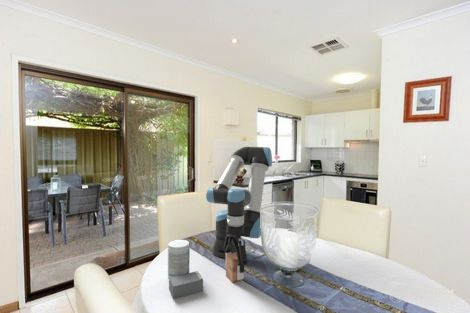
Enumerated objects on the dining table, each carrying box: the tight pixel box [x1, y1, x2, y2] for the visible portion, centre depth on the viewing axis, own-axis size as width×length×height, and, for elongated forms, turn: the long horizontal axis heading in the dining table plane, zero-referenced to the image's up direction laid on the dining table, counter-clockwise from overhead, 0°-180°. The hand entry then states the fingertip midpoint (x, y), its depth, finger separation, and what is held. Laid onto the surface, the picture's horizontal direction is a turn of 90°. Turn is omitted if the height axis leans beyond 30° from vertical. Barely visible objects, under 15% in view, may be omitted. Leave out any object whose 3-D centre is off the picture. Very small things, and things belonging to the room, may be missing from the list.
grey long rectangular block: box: [168, 271, 204, 300], centre depth 96 cm, size 12×7×5 cm, turn 118°
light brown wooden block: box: [225, 252, 243, 283], centre depth 106 cm, size 5×6×10 cm
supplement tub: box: [167, 239, 191, 278], centre depth 107 cm, size 10×10×15 cm
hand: (234, 272), depth 106 cm, fingers open, 11 cm apart
